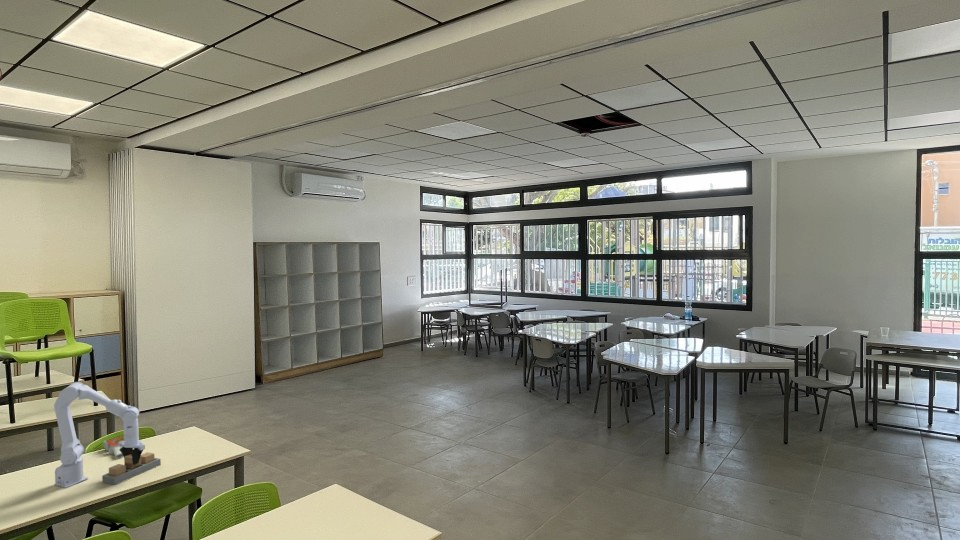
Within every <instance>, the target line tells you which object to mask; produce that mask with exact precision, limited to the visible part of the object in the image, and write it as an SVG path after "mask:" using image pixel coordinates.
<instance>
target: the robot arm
mask: <svg viewBox="0 0 960 540" xmlns="http://www.w3.org/2000/svg"><path fill="white" fill-rule="evenodd" d="M56 398H57V399H56V400H55V402H54V405H53V407H54V412H55V417H56V421H57V425H58V430H59V434H60V435H59V436H60V439H61V447H60V456H59V460H60V462H61V465H59V466H58V467H55V469H54V482H55V483H54V485H53V486H56V487H61V488H65V489H66V488H69V487H71V486H73V485H74V486H75V485H76V484H78V483H81V482H84V481H86V480H88V479H89V477H87V476H84V463H83V462H84V461H83V460H84V459H83V457H82V455H83V454H84V452H85V448H84V446H83V444H81V441H80V439H78V438H77V434H76V433H77V432H76V430H75V429H76V428H75V425H74V421H73V420H74V419H73V415H72V410H71V404H72V403H73V402H74V401H75V400H76V399H77V398H78V401H79V400H80V401H81V400H89V401H92V402H94V403H96V404H98V405H101V406H103V407H105V409H106V411H107V412H108V413H111V414H112V415H115V416H117V417H119V418H120V419H121V421H122V422H123V437H124V438H123V440H124V441H122V440H120V441H121V442H119V441H118V442H119V446H123V447H122V448H121V449H120V451H121V453H122V454H123V456H124V457H125V456H128V455H130V454H131V455H132V460H133V464H134V465H135V464H137V463H139V459H140V456H141V455H142V454H143V451H144V450H146V449H145V448H146V444H143V443H142V440H140V437H139V436H140V433H139V432H140V431H139V417H138V416H140V410H139V408H137V407H136V406H132V405H127V404H126V403H123V402H122V400H121V399H117V398H116V399H110V398H109V397H106V396H104V395H103V394H102V393H100V392H98V391H96V390H95V389H93V388H91V386H89V385H87V384H84V383H83V382H81V381H75V382H72V383H71V384H69V386H67V387H65V388H64V389H62V390H61V391H60V392H59V393H58V397H56ZM124 457H123V458H124Z"/></svg>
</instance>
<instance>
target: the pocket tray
mask: <svg viewBox="0 0 960 540" xmlns="http://www.w3.org/2000/svg"><path fill="white" fill-rule="evenodd" d="M161 460H162V459H161V458H157V457H155V453H152V452H145V453H141V465H139V466H137V467H135V468H132V469H130V468H126V465H124V464H120V463H118V464H116V465H112V466H111V467H108V473H104V474H103V475H102V483H105V484H109V485H113V486H116V485H118V484H120V483H122V482H125V481H127V480H130V479H132V478H134V477H136V476H139V475H141V474H143V473H145V471H146V472H148V471H150V470H153V469H154V467H155V468H157V467H159V466H161V463H162V462H161ZM156 466H157V467H156ZM147 470H148V471H147ZM142 472H143V473H142ZM140 473H141V474H140Z"/></svg>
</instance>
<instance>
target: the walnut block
mask: <svg viewBox="0 0 960 540" xmlns="http://www.w3.org/2000/svg"><path fill="white" fill-rule="evenodd" d="M123 459H124V460H123V461H124V462H123V463H124V464H123V465H126V468H130V469H132V468H135V467H137V466H139V465H141V456H140V459H139V463H137V464H135V465H134V464H133V460H132V455H131V454H130V455H128V456H125V457H123Z"/></svg>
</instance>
